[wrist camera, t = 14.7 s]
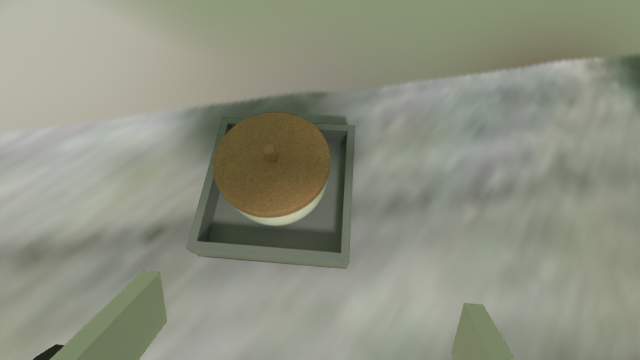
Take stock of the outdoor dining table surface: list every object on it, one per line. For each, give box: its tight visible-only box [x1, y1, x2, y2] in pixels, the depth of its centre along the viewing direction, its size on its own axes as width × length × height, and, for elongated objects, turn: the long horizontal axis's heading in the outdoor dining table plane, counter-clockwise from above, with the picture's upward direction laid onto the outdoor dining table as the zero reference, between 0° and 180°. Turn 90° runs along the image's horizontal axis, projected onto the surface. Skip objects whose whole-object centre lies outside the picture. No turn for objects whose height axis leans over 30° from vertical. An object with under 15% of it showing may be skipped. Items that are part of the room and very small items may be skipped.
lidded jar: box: [213, 112, 331, 226], centre depth 30 cm, size 11×11×9 cm
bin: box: [186, 117, 355, 269], centre depth 34 cm, size 16×16×4 cm
